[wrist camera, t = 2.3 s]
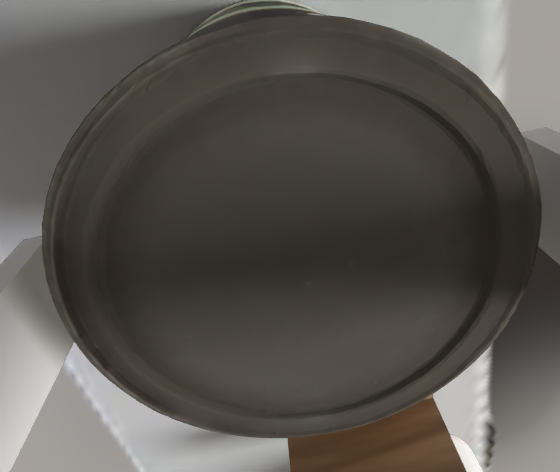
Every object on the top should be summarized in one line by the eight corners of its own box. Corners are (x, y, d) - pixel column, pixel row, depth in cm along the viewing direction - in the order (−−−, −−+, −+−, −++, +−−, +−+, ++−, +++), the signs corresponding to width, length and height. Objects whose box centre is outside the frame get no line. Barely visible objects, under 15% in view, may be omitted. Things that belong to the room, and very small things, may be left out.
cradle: (238, 260, 25) (235, 402, 17) (422, 222, 25) (517, 347, 16) (289, 426, 33) (304, 579, 25) (428, 400, 33) (493, 546, 24)
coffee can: (271, -64, 17) (332, -176, 5) (411, 118, 22) (622, 285, 10) (116, 113, 21) (-68, 296, 8) (265, 241, 25) (285, 486, 13)
